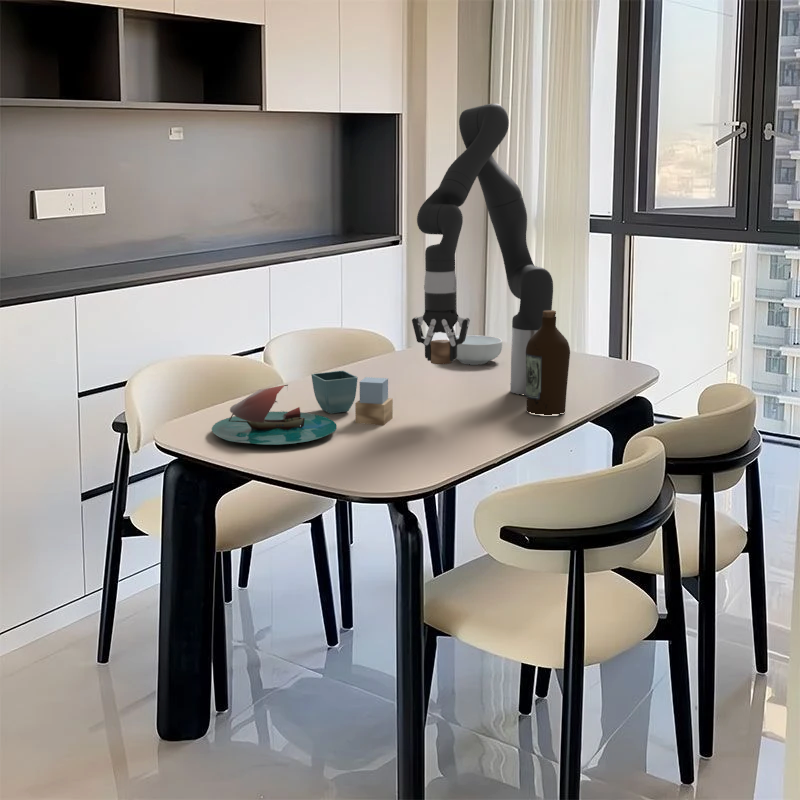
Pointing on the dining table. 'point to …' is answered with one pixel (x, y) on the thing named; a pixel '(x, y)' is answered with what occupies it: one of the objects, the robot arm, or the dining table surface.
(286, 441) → the sailing ship model
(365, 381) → the mid block
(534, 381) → the olive oil
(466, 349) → the cereal bowl
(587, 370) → the dining table surface
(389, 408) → the base block
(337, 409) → the flower pot
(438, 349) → the brown rounded cylinder
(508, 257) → the robot arm
